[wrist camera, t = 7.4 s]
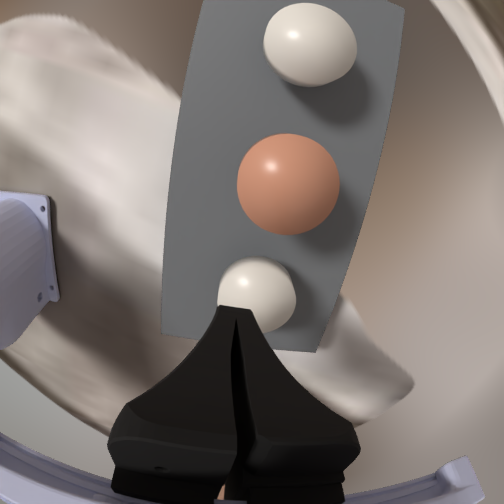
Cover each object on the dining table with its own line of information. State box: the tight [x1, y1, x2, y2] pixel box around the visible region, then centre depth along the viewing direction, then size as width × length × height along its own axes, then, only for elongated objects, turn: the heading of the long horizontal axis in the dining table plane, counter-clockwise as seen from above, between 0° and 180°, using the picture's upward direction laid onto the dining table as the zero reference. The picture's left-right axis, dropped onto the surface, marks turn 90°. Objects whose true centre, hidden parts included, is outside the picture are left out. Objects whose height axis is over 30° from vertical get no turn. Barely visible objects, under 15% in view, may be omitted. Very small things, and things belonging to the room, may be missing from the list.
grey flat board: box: [161, 0, 404, 353], centre depth 17 cm, size 26×12×2 cm, turn 170°
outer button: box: [263, 3, 357, 87], centre depth 12 cm, size 4×4×3 cm
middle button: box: [237, 133, 340, 235], centre depth 13 cm, size 4×4×3 cm
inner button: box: [217, 256, 296, 333], centre depth 18 cm, size 4×4×3 cm
